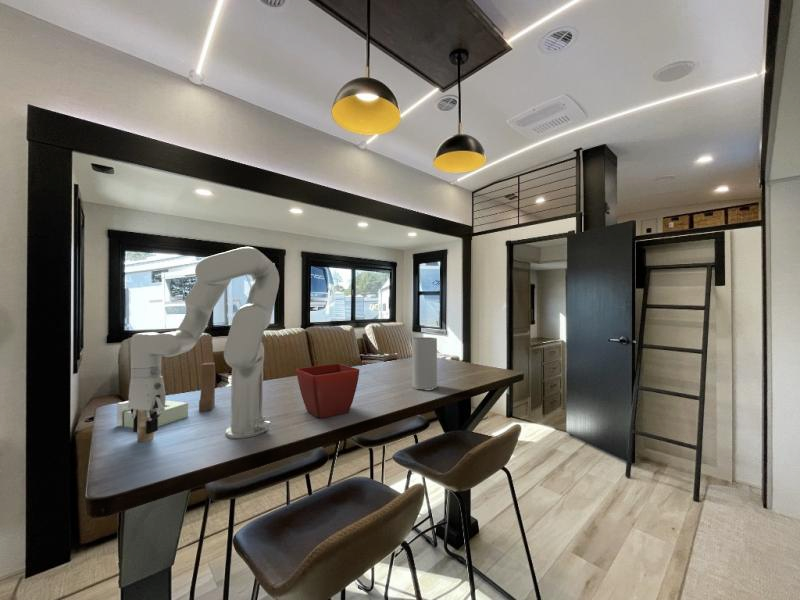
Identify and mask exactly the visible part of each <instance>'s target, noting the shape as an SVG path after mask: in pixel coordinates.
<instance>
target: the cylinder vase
mask: <svg viewBox="0 0 800 600" xmlns="http://www.w3.org/2000/svg"><path fill="white" fill-rule="evenodd" d="M411 339H412V341H411V342H412V345H411V347H412V349H411V350H412V352H411V353H412V355H411V356H412V357H411V358H412V360H411V361H412V364H411V366H412V368H411V369H412V379H411V380H412V381H411V382H412V388H413V387H414V388H417V389H432V388H435V387H437V388H438V338H436V337H429V336H428V337H426V336H424V337H421V336H419V337H412V338H411ZM414 388H413V389H414ZM417 389H416V390H417Z"/></svg>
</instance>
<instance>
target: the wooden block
mask: <svg viewBox="0 0 800 600" xmlns="http://www.w3.org/2000/svg"><path fill="white" fill-rule="evenodd" d="M215 377H216V363H215V362H204V363H202V364H201V366H200V396H199V397H200V398H199V401H198V412H199V413H202V412H203V413H205V412H211V411H213V409H214V406H215V405H216V404H215V403H216V401H215V398H216V396H215V395H216V391H215V388H216V386H215V385H216V381H215V380H216V378H215Z"/></svg>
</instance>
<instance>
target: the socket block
mask: <svg viewBox="0 0 800 600" xmlns="http://www.w3.org/2000/svg"><path fill="white" fill-rule="evenodd" d="M164 408H165V410H164V411H163V412H162V413H161V414H160V415H159V418H158V428H159V427H161V426H163V425H167V424H171V423H172V422H175V421H178V420H182V419H184V418H187V417H189V402H183V401H173V400H165V406H164ZM132 415H133V414H132V413H131V410H130V411H126V412H124V426H123V428H124V427H125V428H131V429H133V420H134V419H133V418H132Z"/></svg>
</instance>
